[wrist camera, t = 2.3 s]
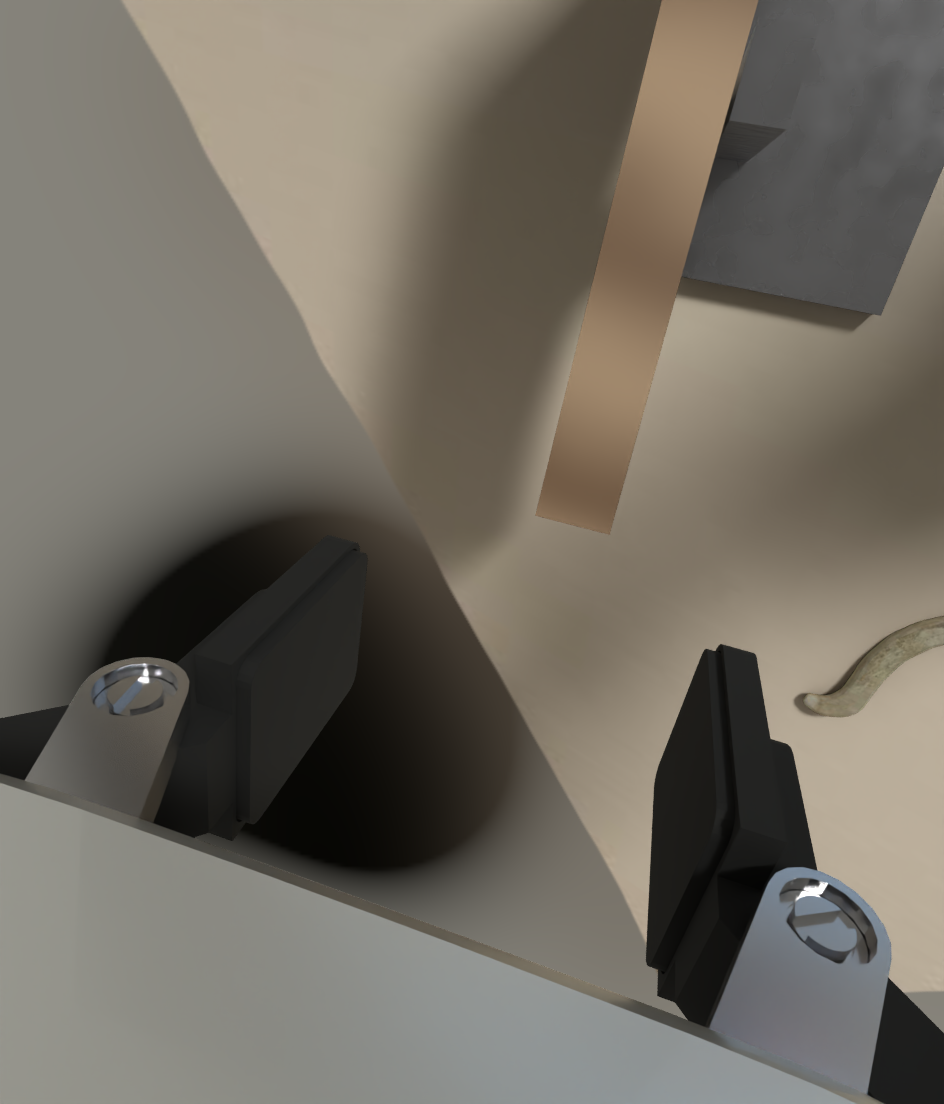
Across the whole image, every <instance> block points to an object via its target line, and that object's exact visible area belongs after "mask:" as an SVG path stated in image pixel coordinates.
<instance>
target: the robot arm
mask: <svg viewBox="0 0 944 1104" xmlns="http://www.w3.org/2000/svg"><path fill="white" fill-rule="evenodd" d="M367 559H368V558H367V555H366V553H362V552H360V548H359V545H358V543H356V542H351V541H348V540H345V539H341V538H338V537H334V536H330V535H327V536H326V537H324V538H323V539H322V540H321V541H320V542H319V543H318V544H317V545H316V546H315V547H313V548H312V549H311V550H310V551H309V552H308V553H307V554H306V555H304V556H303V557H302V558H301V559H300V560H299V561H298V562H297V563H295V564H294V565H293V566H292V567H291V568H290V569H289V570H288V571H287V572H285V573H284V574H283V575H282V576H281V577H280V578H279V579H278V580H277V581H276V582H274V583H273V584H272V585H271V586H270V587H269V588H268V589H267V590H260V591H259V592H257V593H256V594H254V595H253V596H252V597H251V598H250V599H249V600H248V601H247V602H246V603H244V604H243V605H242V606H241V607H240V608H239V609H238V610H237V611H235V612H234V613H233V614H232V615H231V616H230V617H229V618H228V619H226V620H225V621H224V622H223V623H222V624H221V625H220V626H218V627H217V628H216V629H215V630H214V631H213V632H212V633H210V634H209V635H208V636H207V637H206V638H205V639H204V640H203V641H202V642H200V643H199V644H198V645H197V646H196V647H195V648H194V649H192V650H191V651H190V652H189V653H188V654H187V655H186V656H185V657H183V658H182V659H181V660H180V661H179V662H178V663H177V664H174V663H172V662H169V661H167V660H163V659H157V658H132V659H127V660H122V661H117V662H115V663H112V664H110V665H107V666H105V667H102V668H101V669H99V670H98V671H97V672H95V673H93V674H92V675H90V676H89V677H88V678H87V680H86V681H85V682H84V683H83V684H82V686H81V687H80V689H79V690H78V692H77V694H76V695H75V697H74V699H73V700H72V702H71V704H70V705H67V706H61V707H56V708H51V709H46V710H41V711H36V712H31V713H26V714H20V715H16V716H11V717H5V718H0V1104H944V1033H943V1032H942V1031H941V1030H940V1029H939V1028H938V1027H937V1026H936V1025H935V1024H934V1023H933V1022H932V1021H931V1020H930V1019H929V1018H928V1017H927V1016H926V1015H925V1014H924V1013H923V1012H922V1011H921V1010H920V1009H919V1008H918V1007H917V1006H916V1005H915V1004H914V1003H913V1002H912V1001H911V1000H910V999H909V998H908V997H907V996H906V995H905V994H904V993H903V992H902V991H901V990H900V989H899V988H898V987H897V986H896V985H895V984H894V983H893V982H892V981H891V980H890V979H889V978H888V975H889V970H890V964H891V942H890V940H889V937H888V935H887V932H886V929H885V927H884V925H883V923H882V922H881V921H880V919H879V918H878V916H877V915H876V913H875V912H874V910H873V909H872V908H871V907H870V906H869V905H868V904H867V903H866V902H865V901H864V900H863V899H862V898H861V897H860V896H859V895H858V894H857V893H856V892H855V891H853V890H852V889H850V888H849V887H848V886H846V885H845V884H843V883H842V882H841V881H839V880H837V879H835V878H833V877H831V876H829V875H827V874H825V873H823V872H821V871H817V867H816V862H815V857H814V852H813V847H812V843H811V838H810V833H809V828H808V823H807V818H806V814H805V809H804V804H803V799H802V794H801V790H800V785H799V780H798V775H797V770H796V765H795V761H794V756H793V752H792V750H791V747H790V746H789V745H788V744H785V743H782V742H779V741H775V740H772V739H770V734H769V728H768V723H767V717H766V711H765V705H764V699H763V693H762V687H761V681H760V675H759V669H758V664H757V658H756V655H755V654H754V653H751V652H748V651H744V650H740V649H737V648H733V647H730V646H726V645H722V644H720V645H719V646H718V648H717V649H716V651H712V650H709V649H705V650H704V652H703V654H702V656H701V658H700V661H699V664H698V666H697V669H696V671H695V674H694V676H693V679H692V682H691V684H690V687H689V689H688V692H687V694H686V697H685V699H684V702H683V705H682V707H681V710H680V712H679V715H678V717H677V720H676V723H675V725H674V728H673V730H672V733H671V735H670V738H669V740H668V743H667V746H666V748H665V751H664V753H663V756H662V758H661V761H660V764H659V766H658V770H657V773H656V778H655V784H654V801H653V822H652V843H651V864H650V885H649V906H648V927H647V948H646V962H647V965H648V966H649V967H652V968H655V969H658V991H657V992H658V994H657V996H659V997H662V998H664V999H667V1000H670V1001H673V1002H675V1003H676V1004H677V1006H678V1007H679V1009H680V1010H681V1011H682V1013H683V1014H684V1015H685V1017H686V1018H687V1019H688V1020H685V1019H683V1018H680V1017H678V1016H675V1015H673V1014H670V1013H668V1012H665V1011H662V1010H660V1009H657V1008H654V1007H652V1006H649V1005H646V1004H644V1003H641V1002H638V1001H636V1000H633V999H630V998H628V997H625V996H622V995H620V994H617V993H614V992H611V991H609V990H606V989H603V988H601V987H598V986H595V985H593V984H590V983H587V982H585V981H582V980H579V979H577V978H574V977H571V976H569V975H566V974H563V973H561V972H558V971H555V970H552V969H550V968H547V967H545V966H542V965H539V964H536V963H534V962H531V961H528V960H526V959H523V958H520V957H518V956H515V955H512V954H510V953H507V952H504V951H502V950H499V949H496V948H494V947H491V946H488V945H485V944H483V943H480V942H477V941H475V940H472V939H469V938H467V937H464V936H461V935H458V934H455V933H453V932H450V931H447V930H445V929H442V928H439V927H436V926H434V925H431V924H429V923H426V922H423V921H420V920H418V919H415V918H412V917H409V916H406V915H404V914H401V913H399V912H396V911H393V910H390V909H388V908H385V907H382V906H380V905H377V904H374V903H371V902H369V901H366V900H363V899H360V898H358V897H355V896H352V895H349V894H347V893H344V892H341V891H339V890H336V889H333V888H330V887H328V886H325V885H322V884H319V883H317V882H314V881H311V880H308V879H306V878H303V877H300V876H298V875H295V874H292V873H289V872H287V871H284V870H281V869H278V868H276V867H273V866H270V865H267V864H264V863H261V862H259V861H256V860H253V859H251V858H248V857H245V856H242V855H239V854H237V853H234V852H231V851H228V850H226V849H223V848H220V847H217V846H214V845H211V844H209V843H206V842H203V841H201V840H198V839H195V837H196V836H199V835H203V834H206V833H211V834H214V835H217V836H220V837H222V838H225V839H228V840H231V841H233V840H234V838H235V837H236V835H237V834H238V833H239V831H240V830H241V828H242V827H243V826H244V824H245V823H246V822H247V823H250V824H255V823H256V822H257V821H258V820H259V818H260V817H261V816H262V815H263V813H264V812H265V810H266V809H267V807H268V806H269V804H270V803H271V802H272V800H273V799H274V797H275V796H276V795H277V793H278V792H279V790H280V789H281V787H282V786H283V784H284V783H285V782H286V780H287V779H288V777H289V776H290V775H291V773H292V772H293V770H294V769H295V767H296V766H297V764H298V763H299V762H300V760H301V759H302V757H303V756H304V754H305V753H306V752H307V750H308V749H309V747H310V746H311V745H312V743H313V742H314V740H315V739H316V737H317V736H318V734H319V733H320V732H321V730H322V729H323V727H324V726H325V725H326V723H327V722H328V720H329V719H330V717H331V716H332V715H333V713H334V712H335V710H336V709H337V707H338V706H339V705H340V703H341V702H342V700H343V699H344V697H345V696H346V695H347V693H348V692H349V690H350V688H351V686H352V684H353V682H354V679H355V675H356V670H357V660H358V649H359V640H360V630H361V621H362V611H363V601H364V590H365V581H366V571H367Z"/></svg>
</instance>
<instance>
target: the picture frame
mask: <svg viewBox="0 0 944 1104" xmlns="http://www.w3.org/2000/svg"><path fill="white" fill-rule="evenodd" d="M757 3H758V0H662V2H661V6H660V10H659V14H658V18H657V22H656V26H655V30H654V35H653V39H652V43H651V47H650V51H649V55H648V59H647V63H646V67H645V71H644V75H643V79H642V83H641V87H640V92H639V96H638V100H637V104H636V108H635V112H634V116H633V120H632V124H631V128H630V132H629V136H628V140H627V144H626V149H625V153H624V157H623V161H622V165H621V169H620V173H619V177H618V181H617V185H616V189H615V193H614V197H613V201H612V206H611V210H610V214H609V218H608V222H607V226H606V230H605V234H604V238H603V242H602V246H601V250H600V254H599V258H598V263H597V267H596V271H595V275H594V279H593V283H592V287H591V291H590V295H589V299H588V303H587V307H586V311H585V315H584V319H583V324H582V328H581V332H580V336H579V340H578V344H577V348H576V352H575V356H574V360H573V364H572V368H571V372H570V376H569V381H568V385H567V389H566V393H565V397H564V401H563V405H562V409H561V413H560V417H559V421H558V425H557V429H556V433H555V438H554V442H553V446H552V450H551V454H550V458H549V462H548V466H547V470H546V474H545V478H544V482H543V486H542V490H541V495H540V499H539V503H538V507H537V511H536V516H540V517H543V518H547V519H551V520H555V521H559V522H563V523H566V524H570V525H574V526H578V527H582V528H586V529H590V530H593V531H597V532H601V533H605V534H610V531H611V527H612V523H613V520H614V516H615V513H616V509H617V505H618V502H619V498H620V495H621V491H622V487H623V484H624V480H625V477H626V473H627V470H628V466H629V462H630V459H631V455H632V452H633V448H634V444H635V441H636V437H637V434H638V430H639V427H640V423H641V419H642V416H643V412H644V409H645V405H646V401H647V398H648V394H649V391H650V387H651V384H652V380H653V376H654V373H655V369H656V366H657V362H658V358H659V355H660V351H661V348H662V344H663V340H664V337H665V333H666V330H667V326H668V323H669V319H670V315H671V312H672V308H673V305H674V301H675V297H676V294H677V290H678V287H679V283H680V280H681V276H682V272H683V269H684V265H685V262H686V258H687V254H688V251H689V247H690V244H691V240H692V237H693V233H694V229H695V226H696V222H697V219H698V215H699V211H700V208H701V204H702V201H703V197H704V193H705V190H706V186H707V183H708V179H709V176H710V172H711V168H712V165H713V161H714V158H715V154H716V150H717V147H718V143H719V140H720V136H721V133H722V129H723V125H724V122H725V118H726V115H727V111H728V107H729V104H730V100H731V97H732V93H733V89H734V86H735V82H736V79H737V75H738V72H739V68H740V64H741V61H742V57H743V54H744V50H745V46H746V43H747V39H748V36H749V32H750V29H751V25H752V21H753V18H754V14H755V11H756V7H757Z"/></svg>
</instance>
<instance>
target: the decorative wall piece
mask: <svg viewBox="0 0 944 1104" xmlns="http://www.w3.org/2000/svg"><path fill="white" fill-rule="evenodd" d="M943 645H944V616H940V617H935V618H932V619H927V620H923V621H920V622H917V623H914V624H912V625H909V626H907V627H905V628H903V629H901V630H899V631H896V632H894V633H892V634H891V635H889V636H888V637H886V638H885V639H884V640H883V641H882V642H880V643H879V644H878V645H877V646H876V647H874V648H873V649H872V650H871V651H870V652H869V653H868V654H867V655H866V656H865V657H864V658H863V659H862V660H861V662H860V663H859V664H858V666H857V667H856V669H855V671H854V672H853V674H852V675H851V677H850V678H849V679H848V681H847V682H846V683H845V685H844V686H843V687H842V688H841V689H840V690H838V691H836V692H834V693H833V694H829V695H818V694H812V693H808V694H807V695H806V696H805V697H804V699H803V703H804V704H805V706H807V707H808V708H809V709H811V710H812V711H813V712H816V713H818V714H820V715H823V716H830V717H848V716H851V715H854V714H856V713H858V712H859V711H861V710H862V709H863V708H864V707H865V705H866V704H867V702H868V701H869V699H870V698H871V697H872V695H873V694H874V693H875V692H876V690H877V689H878V688H879V686H880V685H881V684H882V683H883V681H884V680H885V679H886V678H887V677H888V676H889V675H890V674H891V673H892V672H893V671H894V670H895V669H896V668H898V667H899V666H900V665H901V664H902V663H904V662H905V661H907V660H908V659H910V658H912V657H914V656H916V655H918V654H921V653H923V652H925V651H927V650H929V649H931V648H935V647H938V646H943Z"/></svg>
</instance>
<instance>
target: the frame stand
mask: <svg viewBox="0 0 944 1104" xmlns="http://www.w3.org/2000/svg"><path fill="white" fill-rule="evenodd" d="M943 166H944V0H758V3H757V7H756V11H755V14H754V18H753V21H752V25H751V29H750V32H749V36H748V39H747V43H746V46H745V50H744V54H743V57H742V61H741V64H740V68H739V72H738V75H737V79H736V82H735V86H734V89H733V93H732V97H731V100H730V104H729V107H728V111H727V115H726V118H725V122H724V125H723V129H722V133H721V136H720V140H719V143H718V147H717V150H716V154H715V158H714V161H713V165H712V168H711V172H710V176H709V179H708V183H707V186H706V190H705V193H704V197H703V201H702V204H701V208H700V211H699V215H698V219H697V222H696V226H695V229H694V233H693V237H692V240H691V244H690V247H689V251H688V254H687V258H686V262H685V265H684V269H683V272H682V276H681V277H686V278H691V279H696V280H701V281H706V282H712V283H717V284H722V285H727V286H732V287H737V288H742V289H747V290H753V291H758V292H763V293H768V294H773V295H778V296H783V297H788V298H793V299H799V300H804V301H809V302H814V303H819V304H824V305H829V306H834V307H839V308H845V309H850V310H855V311H860V312H865V313H870V314H875V315H880V316H881V314H882V311H883V309H884V306H885V304H886V302H887V299H888V297H889V295H890V292H891V290H892V287H893V285H894V283H895V280H896V278H897V276H898V273H899V271H900V268H901V266H902V264H903V261H904V259H905V257H906V254H907V252H908V249H909V247H910V245H911V242H912V240H913V238H914V235H915V233H916V230H917V228H918V226H919V223H920V221H921V218H922V216H923V214H924V211H925V209H926V207H927V204H928V202H929V199H930V197H931V195H932V192H933V190H934V188H935V185H936V183H937V180H938V178H939V176H940V173H941V171H942V169H943Z"/></svg>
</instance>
